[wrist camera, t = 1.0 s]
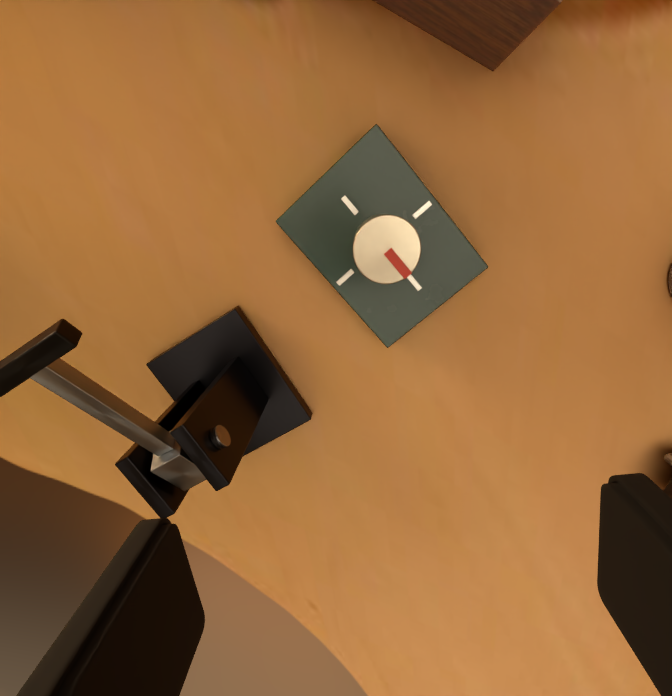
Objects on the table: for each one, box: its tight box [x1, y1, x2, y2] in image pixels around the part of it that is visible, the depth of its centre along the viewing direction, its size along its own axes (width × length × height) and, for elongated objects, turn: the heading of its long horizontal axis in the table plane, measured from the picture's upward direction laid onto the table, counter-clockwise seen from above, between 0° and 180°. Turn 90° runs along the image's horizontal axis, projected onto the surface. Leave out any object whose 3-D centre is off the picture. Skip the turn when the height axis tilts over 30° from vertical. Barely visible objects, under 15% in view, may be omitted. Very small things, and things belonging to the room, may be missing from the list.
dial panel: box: [276, 124, 488, 348], centre depth 31 cm, size 12×9×3 cm
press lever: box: [0, 319, 206, 491], centre depth 23 cm, size 12×5×2 cm, turn 32°
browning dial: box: [353, 214, 421, 284], centre depth 27 cm, size 4×4×5 cm
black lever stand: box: [115, 306, 312, 518], centre depth 31 cm, size 11×9×13 cm
